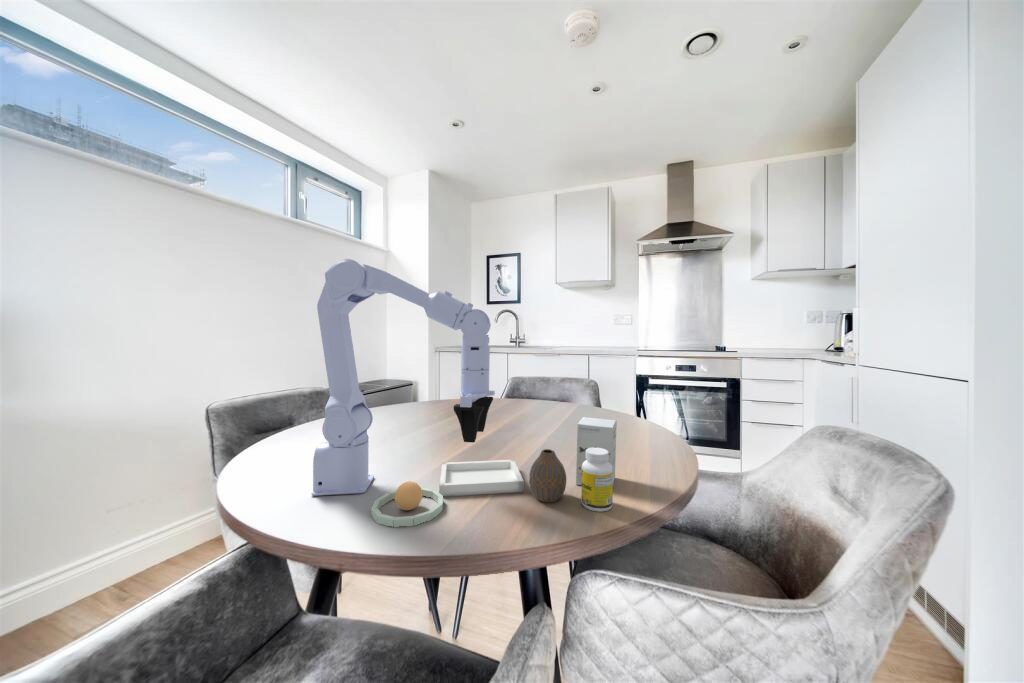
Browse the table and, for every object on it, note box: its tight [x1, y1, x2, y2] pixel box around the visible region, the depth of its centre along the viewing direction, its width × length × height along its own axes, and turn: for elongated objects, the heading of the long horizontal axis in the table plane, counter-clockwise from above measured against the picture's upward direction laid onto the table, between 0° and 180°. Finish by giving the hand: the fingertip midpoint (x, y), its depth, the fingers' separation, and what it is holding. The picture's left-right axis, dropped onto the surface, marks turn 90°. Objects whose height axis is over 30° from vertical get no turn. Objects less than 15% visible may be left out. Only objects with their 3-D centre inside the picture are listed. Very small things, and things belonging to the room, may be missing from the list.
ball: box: [394, 480, 423, 511], centre depth 61 cm, size 5×5×5 cm
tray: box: [438, 459, 525, 497], centre depth 73 cm, size 16×12×2 cm
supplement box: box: [575, 416, 618, 487], centre depth 73 cm, size 7×7×13 cm
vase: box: [528, 448, 567, 504], centre depth 65 cm, size 7×7×9 cm
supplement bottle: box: [581, 448, 614, 513], centre depth 63 cm, size 5×5×10 cm
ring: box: [370, 486, 444, 528], centre depth 61 cm, size 12×12×1 cm
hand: (474, 436), depth 71 cm, fingers open, 7 cm apart
